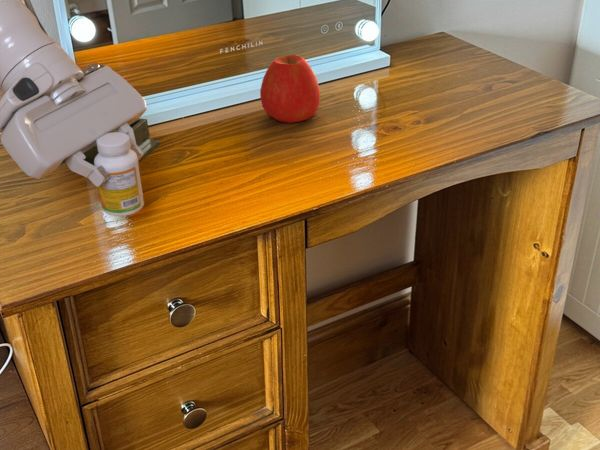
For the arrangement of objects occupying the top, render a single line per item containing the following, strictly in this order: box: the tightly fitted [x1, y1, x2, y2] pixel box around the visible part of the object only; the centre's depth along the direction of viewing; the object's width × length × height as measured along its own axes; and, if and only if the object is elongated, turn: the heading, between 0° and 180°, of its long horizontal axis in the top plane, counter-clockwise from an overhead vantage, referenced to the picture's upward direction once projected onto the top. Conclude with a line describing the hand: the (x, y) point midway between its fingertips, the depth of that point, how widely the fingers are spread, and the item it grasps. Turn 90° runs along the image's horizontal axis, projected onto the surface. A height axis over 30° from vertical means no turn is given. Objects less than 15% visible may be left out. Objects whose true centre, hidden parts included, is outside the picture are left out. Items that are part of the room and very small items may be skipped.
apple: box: [259, 54, 321, 124], centre depth 130 cm, size 10×10×10 cm
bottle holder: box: [83, 117, 160, 165], centre depth 120 cm, size 10×10×5 cm
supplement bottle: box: [94, 132, 145, 217], centre depth 97 cm, size 5×5×10 cm
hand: (121, 170), depth 96 cm, fingers closed on supplement bottle, 5 cm apart
